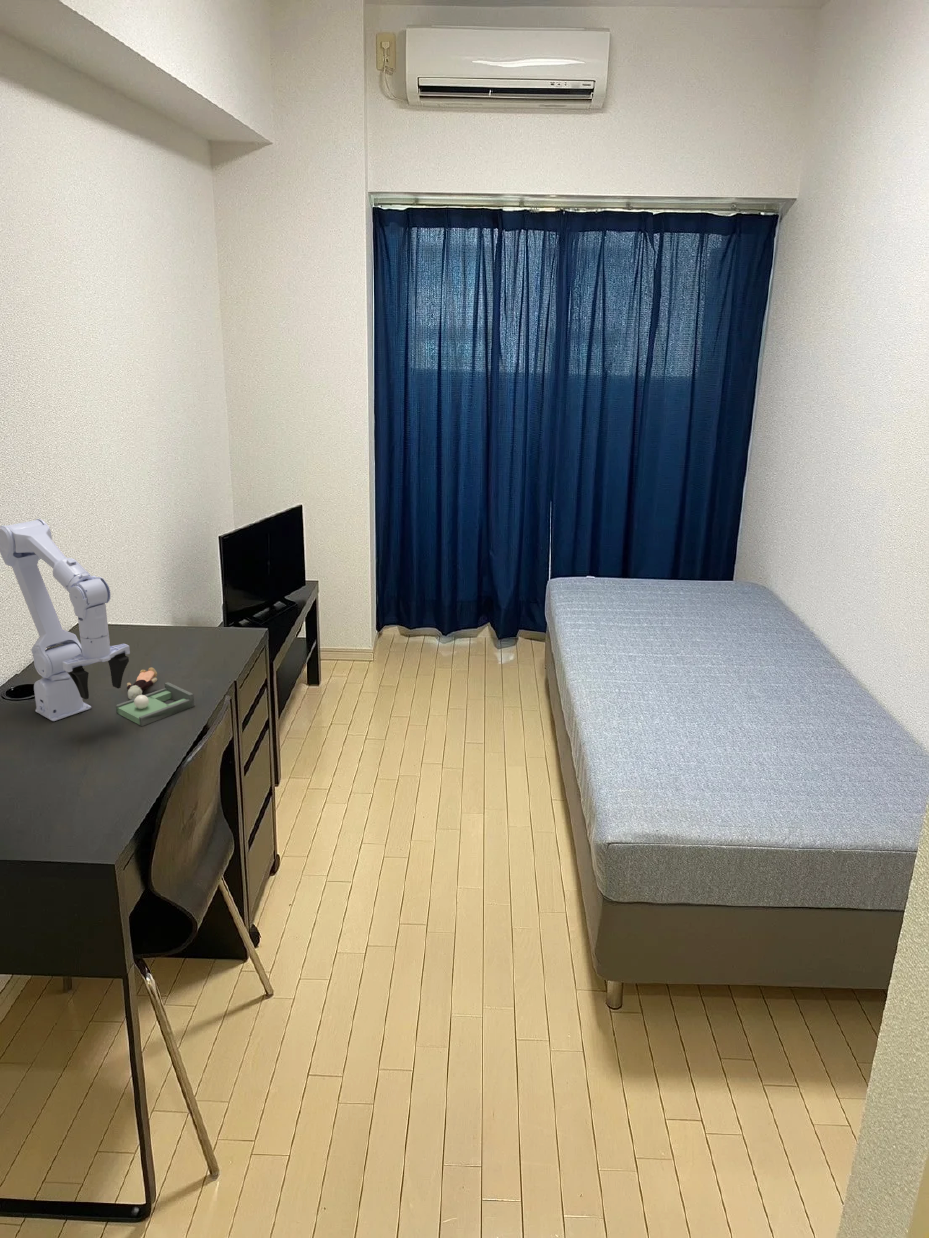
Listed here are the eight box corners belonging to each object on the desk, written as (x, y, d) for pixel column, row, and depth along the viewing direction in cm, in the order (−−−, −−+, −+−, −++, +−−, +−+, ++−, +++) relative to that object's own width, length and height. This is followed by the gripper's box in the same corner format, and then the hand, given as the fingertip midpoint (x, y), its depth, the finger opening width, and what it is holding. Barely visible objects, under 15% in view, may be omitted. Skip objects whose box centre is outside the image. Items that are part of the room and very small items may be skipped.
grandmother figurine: (141, 685, 227) (123, 709, 215) (133, 672, 226) (114, 695, 214) (167, 673, 226) (151, 697, 214) (159, 661, 225) (142, 684, 213)
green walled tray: (141, 726, 203) (140, 713, 202) (116, 713, 209) (115, 700, 207) (194, 706, 213) (193, 693, 212) (169, 694, 219) (168, 682, 218)
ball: (139, 712, 206) (138, 699, 205) (131, 708, 207) (130, 695, 206) (152, 708, 208) (151, 695, 207) (144, 703, 210) (143, 691, 209)
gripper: (72, 648, 186) (79, 708, 191) (135, 630, 197) (140, 687, 201) (54, 639, 190) (62, 698, 195) (117, 622, 201) (122, 678, 205)
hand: (100, 692), depth 198 cm, fingers open, 7 cm apart
